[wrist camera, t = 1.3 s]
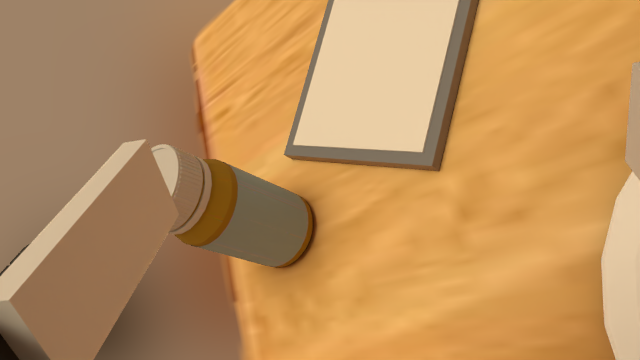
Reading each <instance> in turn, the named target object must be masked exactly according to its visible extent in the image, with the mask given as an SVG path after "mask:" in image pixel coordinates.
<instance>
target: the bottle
mask: <svg viewBox="0 0 640 360" xmlns="http://www.w3.org/2000/svg"><path fill="white" fill-rule="evenodd" d="M151 151H152V153H153V155H154V157H155V160H156V162H157V164H158V167H159V169H160V171H161V174H162V176H163V178H164V181H165V183H166V185H167V187H168V190H169V192H170V194H171V197H172V199H173V201H174V204H175V206H176V208H177V211H178V213H179V216H178V217H177V219H176V221H175V223H174V224H173V226H172V228H171V229H170V231H169V233H170V234H173V235H175V236H176V237H177V238H179V239H180V240H181V241H182V242H184V243H186V244H189V245H191V246H195V247H199V248H202V249H206V250H210V251H214V252H217V253H221V254H225V255H229V256H232V257H236V258H240V259H244V260H247V261H251V262H255V263H259V264H262V265H266V266H271V267H276V268H280V267H284V266H287V265H289V264H291V263H292V262H294V261H295V260H297V259H298V258H299V256H300V255H301V254H302V253H303V252H304V250H305V249H306V247H307V245H308V243H309V241H310V239H311V234H312V229H313V227H312V213H311V210H310V207H309V205H308V204H307V202H306V201H305V200H304V199H303V198H302V197H300V196H298V195H296V194H294V193H293V192H290V191H288V190H286V189H284V188H281V187H279V186H277V185H274V184H272V183H270V182H268V181H265V180H263V179H261V178H258V177H256V176H254V175H252V174H249V173H247V172H245V171H243V170H240V169H238V168H236V167H233V166H231V165H229V164H227V163H224V162H221V161H219V160H216V159H201V158H198V157H195V156H193V155H192V154H190V153H187V152H185V151H183V150H180V149H178V148H175V147H173V146H170V145H164V144H163V145H162V144H161V145H158V146H155V147H153V148H152V149H151Z"/></svg>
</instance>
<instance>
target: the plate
mask: <svg viewBox="0 0 640 360" xmlns="http://www.w3.org/2000/svg"><path fill="white" fill-rule="evenodd" d="M601 266H602V286H603V307H604V326H605V329H606V332H607V335H608V338H609V341H610V344H611V347H612V350H613V353H614V356H615V359H616V360H640V181H639V179H638V178H637V176H636V175H635V174H634V172H633V171H632V173H631V175H630V176H629V178H628V180H627V181H626V183H625V185H624V186H623V188H622V190H621V191H620V193H619V195H618V196H617V198H616V202H615V206H614V210H613V214H612V218H611V222H610V226H609V230H608V234H607V238H606V242H605V246H604V250H603V254H602V258H601Z"/></svg>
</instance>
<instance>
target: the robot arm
mask: <svg viewBox="0 0 640 360" xmlns="http://www.w3.org/2000/svg"><path fill="white" fill-rule="evenodd" d="M625 161H626V163H627V164H628V166H629V167H630V168H631V170H632V171H633V172H634V174H635V175H636V176H637V178H638V179H639V181H640V62H636V63H632V76H631V89H630V102H629V115H628V128H627V141H626V154H625ZM178 216H179V213H178V211H177V208H176V206H175V204H174V201H173V199H172V197H171V194H170V192H169V190H168V187H167V185H166V183H165V181H164V178H163V176H162V174H161V171H160V169H159V167H158V164H157V162H156V160H155V157H154V155H153V153H152V151H151V148H150V146H149V144H148V141H147V140H146V139H145V140H139V141H132V142H127V143H123V144H122V145H121V146H120V147H119V148H118V150H117V151H116V152H115V153H114V154H113V155H112V156H111V157H110V158H109V159H108V160H107V161H106V163H105V164H104V165H103V166H102V167H101V168H100V169H99V170H98V171H97V172H96V174H94V176H93V177H92V178H91V179H90V180H89V181H88V182H87V183H86V184H85V185H84V186H83V188H82V189H81V190H80V191H79V192H78V193H77V194H76V195H75V196H74V197H73V198H72V199H71V200H70V201H69V203H68V204H67V205H66V206H65V207H64V208H63V209H62V210H61V211H60V212H59V213H58V215H57V216H56V217H55V218H54V219H53V220H52V221H51V222H50V223H49V224H48V225H47V226H46V227H45V229H44V230H43V231H42V232H41V233H40V234H39V235H38V236H37V237H36V239H34V241H33V242H32V243H30V244H29V245H27V246H26V247H25V248H23V249H22V250H21V252H20V253H19V254H18V255H17V256H16V257H15V258H14V259H13V260H12V261H11V262H10V265H9V266H7V267H6V268H5V269H4V270H3V271H2V272H1V273H0V360H93V359H94V358H95V356H96V354H97V353H98V351H99V349H100V347H101V346H102V344H103V342H104V341H105V339H106V337H107V336H108V334H109V332H110V330H111V329H112V327H113V326H114V324H115V322H116V320H117V319H118V317H119V315H120V314H121V312H122V310H123V309H124V307H125V305H126V304H127V302H128V300H129V299H130V297H131V295H132V293H133V292H134V290H135V288H136V287H137V285H138V283H139V282H140V280H141V278H142V277H143V275H144V273H145V272H146V270H147V268H148V266H149V265H150V263H151V261H152V260H153V258H154V256H155V254H156V253H157V251H158V249H159V248H160V246H161V244H162V243H163V241H164V239H165V238H166V236H167V234H168V233H169V231H170V229H171V228H172V226H173V224H174V223H175V221H176V219H177V217H178Z"/></svg>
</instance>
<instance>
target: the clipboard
mask: <svg viewBox="0 0 640 360" xmlns="http://www.w3.org/2000/svg"><path fill="white" fill-rule="evenodd" d="M478 1H479V0H328V4H327V7H326V11H325V14H324V18H323V21H322V25H321V28H320V32H319V35H318V39H317V42H316V45H315V49H314V52H313V56H312V59H311V63H310V66H309V70H308V73H307V77H306V80H305V84H304V87H303V91H302V94H301V98H300V101H299V105H298V108H297V111H296V115H295V118H294V122H293V125H292V129H291V132H290V136H289V139H288V143H287V146H286V150H285V153H284V155H285V156H287V157H289V158H291V159H298V160H310V161H322V162H335V163H347V164H360V165H372V166H384V167H397V168H409V169H422V170H434V171H439V169H440V165H441V160H442V156H443V152H444V147H445V143H446V139H447V134H448V130H449V126H450V122H451V117H452V113H453V109H454V104H455V100H456V96H457V91H458V87H459V83H460V79H461V74H462V70H463V66H464V61H465V57H466V53H467V48H468V44H469V40H470V35H471V31H472V27H473V23H474V18H475V14H476V10H477V5H478Z"/></svg>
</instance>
